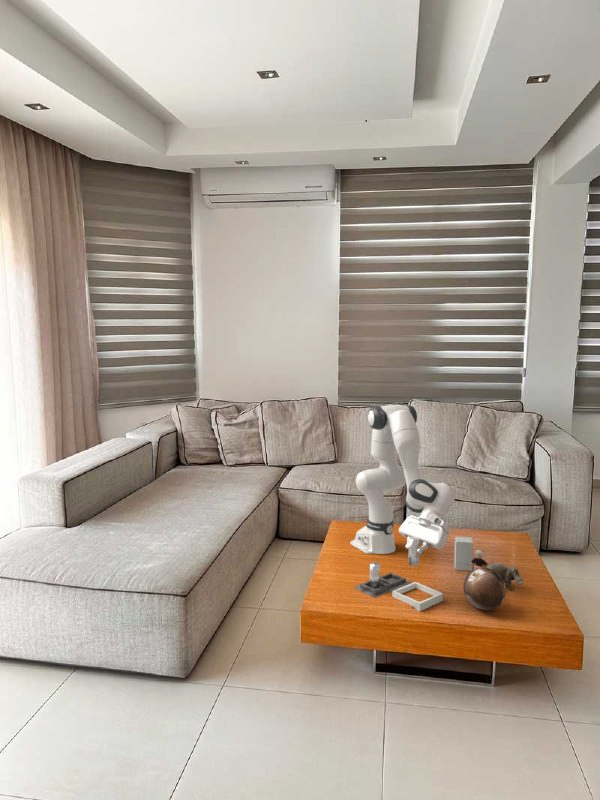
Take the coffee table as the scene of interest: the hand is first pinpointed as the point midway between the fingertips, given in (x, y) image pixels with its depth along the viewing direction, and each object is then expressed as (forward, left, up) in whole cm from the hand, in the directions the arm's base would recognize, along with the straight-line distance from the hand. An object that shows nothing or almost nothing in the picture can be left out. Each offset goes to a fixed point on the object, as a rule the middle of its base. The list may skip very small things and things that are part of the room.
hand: (412, 550), depth 230 cm
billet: (0, +1, -5) cm, 5 cm away
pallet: (-13, -2, -19) cm, 23 cm away
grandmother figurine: (+7, +34, -19) cm, 40 cm away
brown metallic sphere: (+23, +14, -19) cm, 33 cm away
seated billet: (-13, -7, -18) cm, 23 cm away
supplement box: (-5, +40, -19) cm, 45 cm away
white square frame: (+3, 0, -19) cm, 19 cm away
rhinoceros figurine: (+18, +36, -19) cm, 45 cm away
